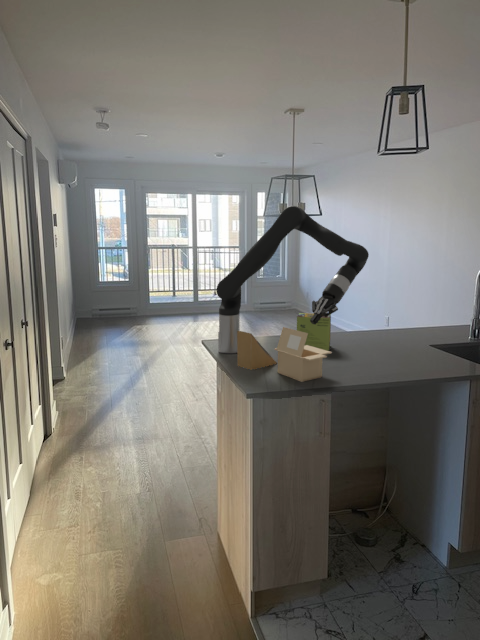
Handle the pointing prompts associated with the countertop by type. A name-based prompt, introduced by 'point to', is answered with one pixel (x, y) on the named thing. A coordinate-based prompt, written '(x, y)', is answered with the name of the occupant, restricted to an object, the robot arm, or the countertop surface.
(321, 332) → the protein box
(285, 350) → the flap
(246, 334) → the sandwich container
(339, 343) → the countertop surface
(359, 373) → the countertop surface
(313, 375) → the carton
